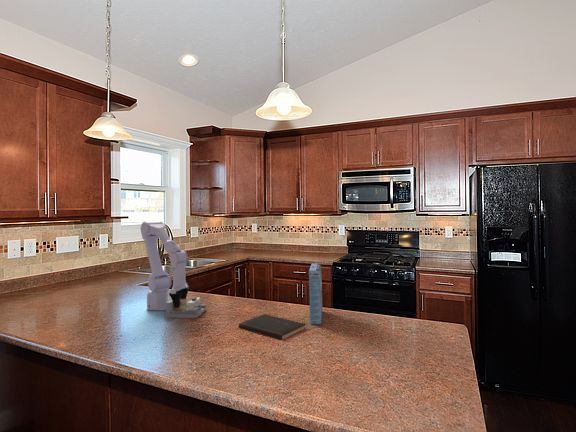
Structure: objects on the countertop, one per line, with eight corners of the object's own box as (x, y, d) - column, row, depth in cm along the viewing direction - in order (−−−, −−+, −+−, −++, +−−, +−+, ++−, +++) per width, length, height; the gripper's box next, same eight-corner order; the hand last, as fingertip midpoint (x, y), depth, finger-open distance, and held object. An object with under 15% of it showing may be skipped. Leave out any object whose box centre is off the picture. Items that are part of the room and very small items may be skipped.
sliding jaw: (187, 312, 160) (187, 300, 160) (194, 307, 169) (194, 295, 169) (193, 313, 160) (193, 300, 159) (200, 307, 168) (200, 295, 168)
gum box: (321, 324, 147) (320, 270, 146) (308, 324, 147) (308, 270, 147) (322, 311, 166) (322, 263, 165) (311, 310, 167) (311, 263, 166)
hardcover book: (264, 319, 157) (264, 313, 157) (306, 329, 143) (306, 324, 143) (238, 328, 144) (238, 323, 144) (281, 341, 130) (281, 335, 130)
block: (174, 311, 163) (174, 301, 162) (178, 308, 167) (178, 298, 167) (182, 312, 162) (182, 301, 162) (186, 309, 167) (186, 298, 167)
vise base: (165, 317, 159) (164, 303, 159) (176, 309, 171) (175, 296, 171) (196, 318, 158) (196, 303, 158) (205, 310, 170) (205, 297, 170)
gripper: (181, 280, 157) (181, 309, 157) (193, 274, 171) (193, 301, 172) (166, 279, 158) (166, 309, 158) (179, 273, 172) (179, 301, 172)
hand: (179, 305), depth 165 cm, fingers open, 6 cm apart
